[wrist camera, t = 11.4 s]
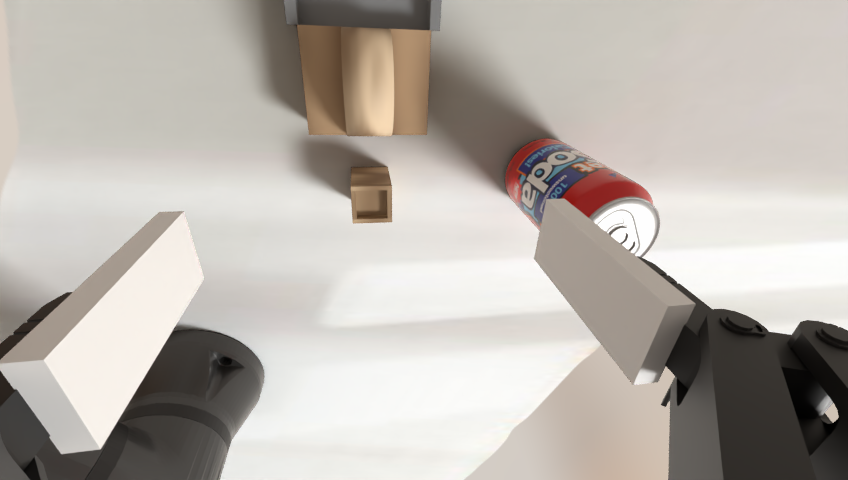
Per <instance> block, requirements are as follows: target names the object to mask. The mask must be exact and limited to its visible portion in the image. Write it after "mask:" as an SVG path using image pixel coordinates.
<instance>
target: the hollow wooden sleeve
mask: <svg viewBox="0 0 848 480" xmlns="http://www.w3.org/2000/svg"><path fill="white" fill-rule="evenodd" d="M351 201H352V217H353V223H380V222H392V185H391V180H390V176H389V171H388V167H351Z"/></svg>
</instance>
